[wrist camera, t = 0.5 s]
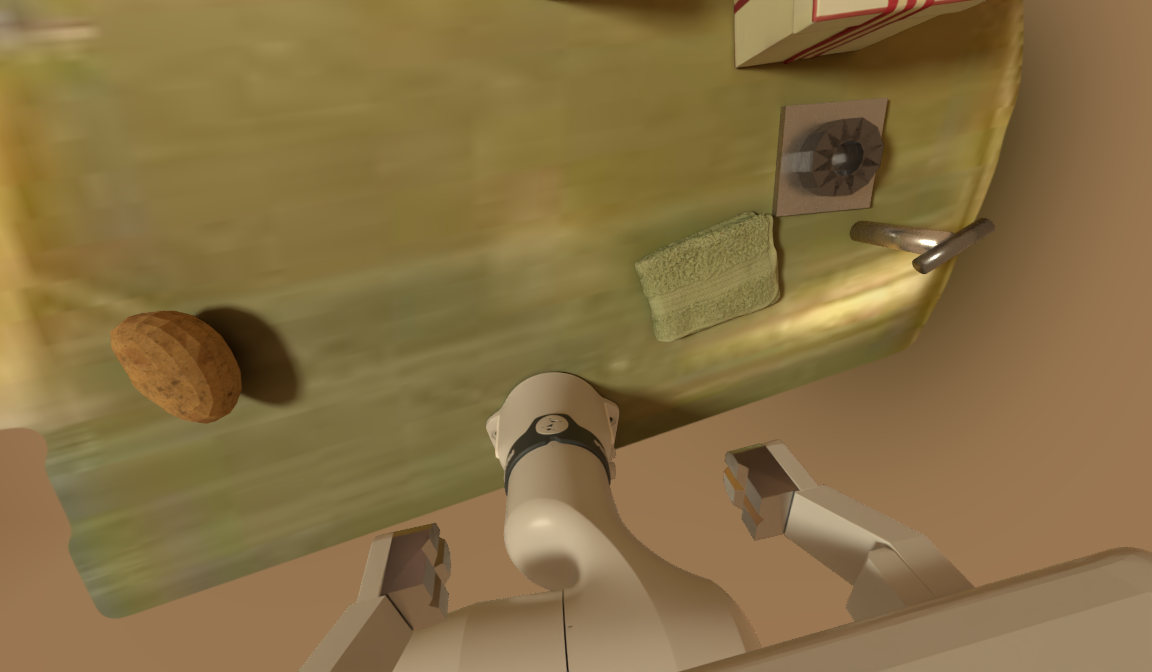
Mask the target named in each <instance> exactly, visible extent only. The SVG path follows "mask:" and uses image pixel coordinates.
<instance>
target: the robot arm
mask: <svg viewBox="0 0 1152 672" xmlns="http://www.w3.org/2000/svg"><path fill="white" fill-rule="evenodd" d="M610 417H611V418H612V419H611V420H610ZM618 419H619V407H618V406H617V404H615V403H614V402H612V401H610V400H608V399H605V398H603V397H601V396H600V395H599V394H598V393H597V392H596V391H595V389H594V388H593V387H592V386H591V385H589V384H588V383H587V382H586V381H584V380H582V379H581V378H579V377H576V376H574V375H571V374H567V373H560V372H549V373H543V374H539V375H535V376H533V377H530V378H528V379H526V380H525V381H523V382H522V383H520V384H519V385H518V386H517V387H516V388H515V389H514V390H513V391H512V392H511V393H510V394H509V396H508V398H507V399H506V401H505V403H504V405H503V406H502V408H501V409H500V410H499V411H497V412H496V413H495V414H493V415H492V416H491V417H490V418H489V419H488V420H487V423H486V428H487V431H488V434H489V436H490V438H491V441H492V443H493V445H494V448H495V454H496V457H497V458H499V460H500V463H501V465H502V467H503V469H504V482H505V492H506V495H507V505H506V516H505V526H504V527H505V528H504V539H505V545H506V549H507V551H508V554H509V556H510V558H511V560H512V561H513V563H514V564H515V565H516V567H517V568H518V569H519V570H520V571H521V572H522V573H523V574H524V575H525V576H526V577H527V578H528V579H529V580H531V581H532V582H533V583H535V584H537V585H539V586H541V587H543V588H546V589H548V590H550V591H548V592H543V593H535V594H529V595H523V596H516V597H510V598H503V599H496V600H490V601H483V602H478V603H474V604H472V605H469V606H466V607H463V608H460V609H458V610H455V611H453V612H450V613H447V610H448V597H449V593H448V591H447V590H446V588H445V586H444V585H445V583H446V582H447V580H448V579H449V577H450V570H451V560H450V551H449V548H448V545H447V543H446V541H445V539H442V538H440V537H439V535H440V529H439V527H438V526H437V524H436V523H433V524H428V525H423V526H419V527H414V528H410V529H405V530H400V531H395V532H391V533H387V534H383V535H379V536H376V537H375V539H374V540H373V542H372V544H371V548H370V552H369V556H368V560H367V564H366V568H365V572H364V576H363V579H362V583H361V587H360V591H359V595H358V599H357V602H356V603H353V604H350V605H349V607H348V608H347V609H346V611H345V612H344V613H343V615H342V616H341V617H340V618H339V619H338V621H337V622H336V623H335V625H334V626H333V627H332V628H331V630H330V631H329V632H328V634H327V635H326V636H325V638H324V639H323V640H322V641H321V643H320V644H319V645H318V646H317V648H316V649H315V650H314V652H313V653H312V654H311V655H310V657H309V658H308V659H307V661H306V662H305V663H304V664H303V666H302V667H301V668H300V669H299V671H298V672H1152V552H1149V551H1146V550H1143V549H1139V548H1134V547H1119V548H1114V549H1109V550H1105V551H1102V552H1099V553H1095V554H1092V555H1088V556H1085V557H1082V558H1078V559H1075V560H1072V561H1068V562H1064V563H1061V564H1057V565H1053V566H1050V567H1047V568H1043V569H1040V570H1036V571H1032V572H1029V573H1025V574H1021V575H1018V576H1015V577H1011V578H1007V579H1004V580H1000V581H997V582H993V583H990V584H986V585H983V586H980V587H974V586H973V585H972V584H971V583H970V582H969V581H968V580H967V579H966V578H965V576H963V574H962V573H961V572H960V571H959V570H958V569H957V568H956V567H955V566H954V565H953V564H952V563H951V562H950V561H949V560H948V559H947V558H946V557H945V556H944V555H943V554H942V553H941V552H940V551H939V550H938V549H937V547H936V546H935V545H934V544H933V543H932V542H930V540H929V539H928V538H927V537H926V536H925V535H923V534H921V533H919V532H917V531H915V530H913V529H911V528H909V527H907V526H905V525H903V524H901V523H899V522H897V521H895V520H893V519H892V518H890V517H888V516H885V515H883V514H881V513H880V512H878V511H876V510H874V509H872V508H870V507H868V506H866V505H864V504H862V503H860V502H858V501H856V500H854V499H852V498H850V497H847V496H846V495H844V494H842V493H840V492H838V491H836V490H834V489H832V488H830V487H828V486H826V485H818V484H817V483H816V481H815V480H814V479H813V478H812V477H811V475H810V474H809V473H808V472H807V471H806V469H805V468H804V467H803V466H802V465H801V464H800V463H799V461H798V460H797V459H796V458H795V456H794V455H793V454H792V453H791V451H790V450H789V449H788V448H787V447H786V446H785V444H784V443H783V442H782V441H780V440H774V441H770V442H766V443H762V444H756V445H752V446H748V447H744V448H740V449H737V450H733V451H729V452H727V453H726V455H725V462H726V464H727V465H728V467H727V468H726V469H725V471H724V479H723V480H724V484H725V488H726V491H727V494H728V496H729V498H730V500H731V501H732V503H733V505H735V506H736V507H738V508H740V509H741V510H743V512H742V520H743V522H744V523H745V525H746V527H747V529H748V531H749V532H750V534H751V536H752V537H753V539H754V540H755V541H756V540H760V539H765V538H769V537H773V536H777V535H782V534H785V536H786V537H787V538H788V539H790V540H791V541H793V542H794V543H796V544H797V545H798V546H799V547H801V548H802V549H803V550H805V551H806V552H807V553H809V554H810V555H812V556H813V557H814V558H816V559H817V560H818V561H820V562H821V563H823V564H824V565H825V566H827V567H828V568H829V569H831V570H832V571H833V572H835V573H836V574H838V575H839V576H840V577H842V578H843V579H845V580H846V581H847V582H849V583H850V584H851V585H853V586H854V587H853V589H852V592H851V594H850V596H849V598H848V601H847V604H846V609H847V611H848V612H849V613H850V615H851V616H852V618H853V620H854V621H855V622H852V623H849V624H845V625H841V626H838V627H834V628H831V629H828V630H824V631H820V632H817V633H814V634H810V635H807V636H803V637H799V638H796V639H792V640H789V641H785V642H782V643H778V644H775V645H771V646H768V647H764V648H762V647H761V644H760V642H759V639H758V637H757V635H756V633H755V631H754V629H753V627H752V625H751V623H750V622H749V620H748V618H747V617H746V615H745V614H744V612H743V611H742V610H741V608H740V607H739V605H738V604H737V603H736V602H735V601H734V600H733V599H732V598H731V597H730V595H729V594H728V593H726V592H725V591H724V590H723V589H722V588H721V587H720V586H718V585H717V584H715V583H714V582H713V581H711V580H709V579H707V578H704V577H701V576H698V575H695V574H692V573H690V572H688V571H685V570H683V569H681V568H679V567H677V566H675V565H673V564H671V563H669V562H668V561H666V560H664V559H663V558H661V557H660V556H658V555H657V554H655V553H654V552H653V551H651V550H650V549H649V548H647V547H646V546H645V545H643V543H641V542H640V541H639V540H638V539H637V538H636V537H635V536H634V535H633V534H632V533H631V532H630V531H629V529H628V528H627V527H626V526H625V524H624V523H623V521H622V519H621V517H620V515H619V513H618V510H617V507H616V504H615V502H614V499H613V496H612V492H611V489H610V480H611V479H615V474H616V470H615V464H614V463H613V462H611V460H612V458H615V454H616V452H615V448H614V443H615V437H616V431H617V425H618ZM496 431H497V433H496Z"/></svg>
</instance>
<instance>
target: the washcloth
mask: <svg viewBox="0 0 1152 672" xmlns="http://www.w3.org/2000/svg"><path fill="white" fill-rule="evenodd" d="M772 230H773V217H772V216H771V215H770V214H766V215H765V213H762V214H759V215H756V214H755V213H754V212H753V211H751V212H744V213H743V214H740V215H737V216H736V217H733V218H731V219H729V220H726V221H722V222H721V223H719V224H717V225H714V226H713V227H710V228H709V229H704V230H701V231H699V232H697V233H694V234H693V235H691V236H689V237H685V238H683V239H681V240H680V241H676V242H673V243H670V244H669V246H666V247H663V248H660V249H659V250H656V251H655V252H653V253H652V254H649V255H646V256H644V257H643V258H641V259H640V260H639V261H637V262H636V263H635V269H636V270H637V273H638V276H639V278H640V283H641V284H642V286H643V293H644V296H646V297H647V298H648V302H649V305H650V308H651V311H652V314H651V316H652V317H651V319H652V322H653V327H654V334H655V336H656V338H657V340H658V341H663V342H674V341H675V340H679V339H681V338H682V337H685V336H686V335H690V334H692V333H695V332H696V333H697V332H699V331H701V330H702V329H706V328H709V327H712V326H714V325H716V324H719V323H723V322H725V321H727V320H729V319H735V318H736V317H738V316H741V315H746V314H749V313H753V312H756V311H757V310H760V309H763V308H766V306H770V305H773V304H774V303H776V302H777V301H778V300H779V298H780V289H779V281H778V277H779V276H778V259H777V252H776V249H775V247H774V243H773V233H772Z"/></svg>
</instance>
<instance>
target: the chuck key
mask: <svg viewBox="0 0 1152 672" xmlns="http://www.w3.org/2000/svg"><path fill="white" fill-rule="evenodd" d="M994 230H995V226H994V224H993V222H991V221H990V220H989V219H986V218H979V219H978V220H976V221H974V222H973V223H971V224H970V225H968V226H967V227H965V228H963V229H962V230H960V231H959V232H957V233H955V234H954V233H952V232H945V231H937V230H930V229H922V228H914V227H907V226H899V225H891V224H884V223H876V222H869V221H859V222H857V223H855V224H854V225H853V226H852V228H851V230H850V237H851V239H852V240H854V241H857V242H862V243H867V244H872V245H877V246H882V247H887V248H892V249H897V250H903V251H908V252H913V253H918V254H922V255H920V256H919V257H917V258H916V259H914V260H913V261H912V265H913V267H914V268H915V269H916V270H917V271H918V272H920V273H922V274H927V273H928V272H930V271H931V270H933V269H935V268H936V267H938V266H940V265H941V264H943V263H944V262H946V261H948V260H949V259H951V258H952V257H954V256H956V255H957V254H959V253H960V252H962V251H964V250H965V249H967V248H968V247H970V246H972V245H973V244H975V243H976V242H978V241H979V240H981V239H983V238H984V237H986V236H988V235H989V234H991V233H993V232H994Z"/></svg>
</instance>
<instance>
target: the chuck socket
mask: <svg viewBox="0 0 1152 672" xmlns="http://www.w3.org/2000/svg"><path fill="white" fill-rule="evenodd" d="M887 100H888V98H878V99H866V100H854V101H841V102H829V103H817V104H805V105H793V106H785V107H781V116H780V128H779V140H778V151H777V163H776V175H775V186H774V198H773V210H772V216H776V217H777V216H787V215H797V214H808V213H818V212H828V211H838V210H849V209H859V208H869V207H870V202H871V196H872V190H873V184H874V178H875V173H876V171H877V170H878V168H879V167H880V164H881V158H882V152H883V146H884V144H883V141H882V138H881V136H882V130H883V124H884V118H885V112H886V106H887Z"/></svg>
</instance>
